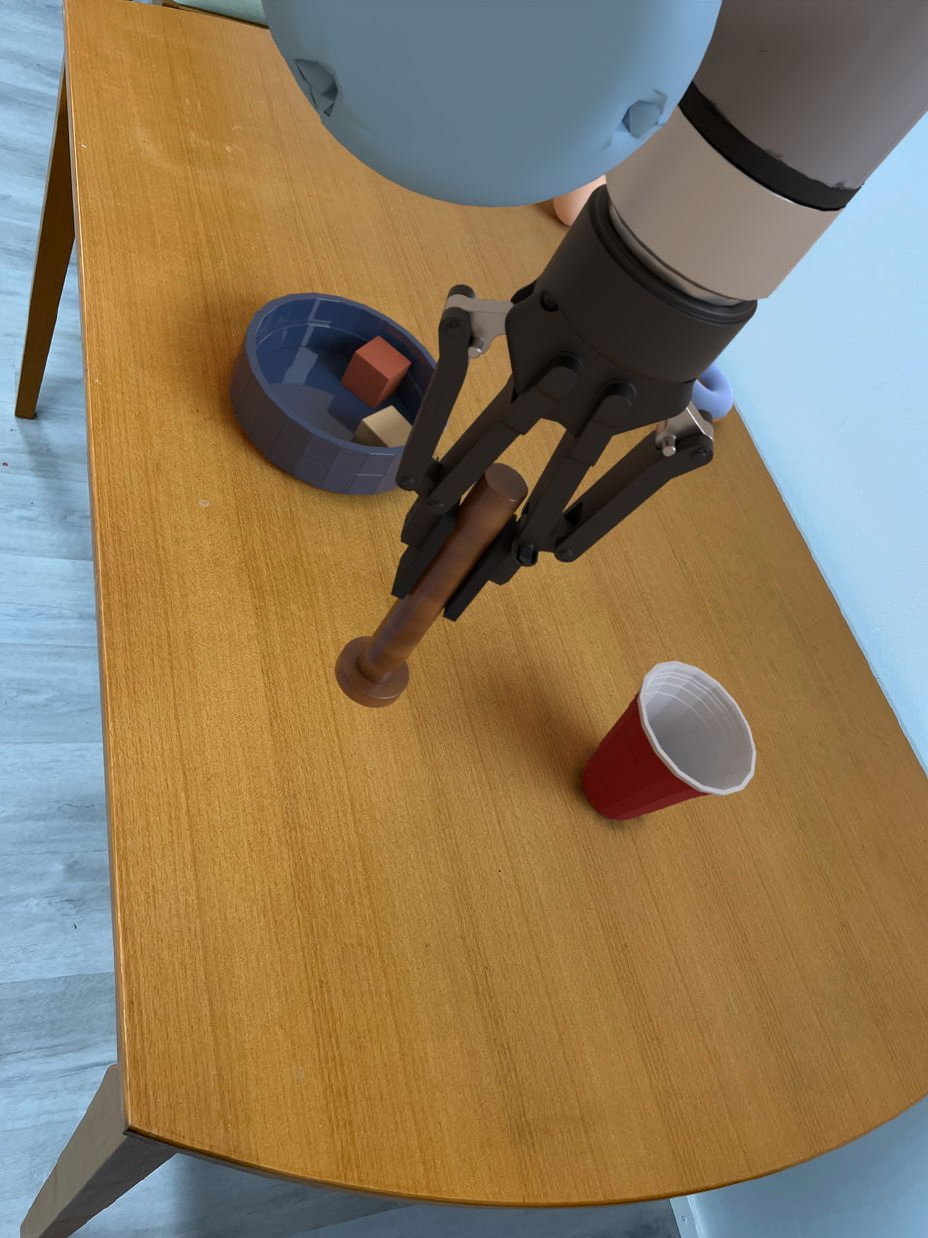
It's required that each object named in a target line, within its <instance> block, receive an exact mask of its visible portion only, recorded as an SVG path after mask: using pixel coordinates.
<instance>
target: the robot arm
mask: <svg viewBox="0 0 928 1238" xmlns="http://www.w3.org/2000/svg"><path fill="white" fill-rule="evenodd" d="M260 2H261V6H262V7H261V8H262V10H263V13H264V17H265V20H266V24H267V27H268V29H269V32H270V35H271V38H272V41H273V42H274V44H275V46H276V48H277V50H278V52H279V54H280V56H281V57H282V58H283V59H284V61H285V63H286V65H287V66H288V68H289V71H290V72H291V75H292V76H293V79H294V80H295V82H296V84H297V86H298V87H299V89H300V91H301V92H302V94H303V95H304V96H305V98H306V99H307V101H308V103H309V104H310V105H311V107H312V108H313V110H314V111H315V112H316V113H317V115H319V119H320V123H321V125H322V126H323V127H324V128H325V129H326V130H327V131H328V132H329V133H330V134H331V136H332V137H333V138H334V139H335V140H336V141H337V142H338V144H339V145H340V146H342V147H343V148H344V149H345V150H347V151H348V152H349V153H350V154H351V155H353V156H354V157H355V158H356V159H357V160H358V161H359V162H360V163H362V164H364V165H365V166H366V167H368V168H370V169H371V170H372V171H374V172H376V174H379V175H380V176H381V177H383V178H384V179H386V180H387V181H390V182H392V183H394V184H396V185H398V186H400V187H401V188H404V189H406V190H408V191H410V192H411V193H412V192H413V193H415V194H419V195H421V196H425V197H427V198H430V199H432V200H436V201H441V202H446V203H451V204H455V205H460V206H467V207H481V208H516V207H517V208H518V207H521V206H522V207H523V206H529V205H533V204H537V203H543V202H546V201H550V200H553V198H556V197H559V196H562V195H565V194H568V193H570V192H572V191H574V190H576V189H578V188H581V187H583V186H585V185H587V184H589V183H591V182H593V181H595V180H597V179H598V178H600V177H601V176H603V175H604V174H605V176H606V184H603V185H601V186H599V187H597V188H596V189H595V190H594V191H593V192H592V193H591V195H590V196H589V198H588V200H587V201H586V203H585V205H584V206H583V208H582V209H581V211H580V213H579V214H578V216H577V217H576V219H575V221H574V222H573V224H572V226H569V229H568V231H567V232H566V233H565V235H564V236H563V238H562V240H561V242H560V243H559V244H558V247H557V248H556V249H555V252H553V254H552V256H551V258H550V259H549V261H548V263H547V264H546V266H545V268H544V269H543V271H542V272H541V273H540V274H539V276H537V278H536V279H534V280H533V281H532V282H530V283H529V284H526V285H524V286H522V287H520V288H519V289H518V290H517V291H515V293H514V294H513V295H512V297H511V298H510V300H500V299H488V298H487V299H486V298H477V294H476V292H475V290H474V289H473V288H472V287H471V286H469V285H467V284H463V283H461V284H455V285H453V286H451V288H450V289H449V291H448V293H447V297H446V299H445V302H444V306H443V310H442V312H441V317H440V319H439V323H438V327H437V336H438V339H437V340H438V355H439V356H438V359H437V361H436V363H437V364H436V367H435V369H434V372H433V375H432V377H431V380H430V382H429V385H428V387H427V390H426V393H425V395H424V398H423V400H422V403H421V405H420V408H419V411H418V413H417V416H416V418H415V421H414V423H413V426H412V429H411V431H410V434H409V436H408V439H407V442H406V444H405V447H404V451H403V454H402V457H401V461H400V464H399V468H398V471H397V474H396V478H395V482H396V484H397V486H398V488H399V489H401V490H402V491H406V492H414V493H416V495H417V497H416V499H415V500H414V502H413V504H412V505H411V507H410V508H409V510H407V511H408V512H407V513H406V514H405V518H404V521H403V525H402V528H401V532H400V543H402V544H405V545H407V547H406V548H405V550H404V551H403V553H402V555H401V556H400V557H399V562H398V565H397V569H396V573H395V576H394V579H393V583H392V587H391V590H390V596H393V597H394V598H395V597H396V599H397V598H400V599H402V600H404V598H405V597H406V595H407V594H408V593H409V591H410V590H411V588H412V587H413V586H414V584H415V583H416V581H417V580H418V578H419V577H420V576H421V574H422V573H423V571H424V570H425V569H426V567H427V566H428V564H429V563H430V562H431V560H432V559H433V557H434V556H435V555H436V553H437V552H438V550H439V549H440V547H441V546H442V545H443V543H444V542H445V540H446V539H447V538H448V536H449V535H450V533H451V532H452V531H453V529H454V528H455V524H456V519H457V515H458V508H459V506H460V504H461V503H462V499H463V496H464V495H465V494H466V493H467V491H469V490H470V489H471V488H472V486H473V485H474V483H475V482H476V481H477V480H478V479H479V478H480V477H481V476H482V474H483V473H484V472H485V471H486V470H487V469H488V468H489V467H490V466H491V465H492V464H493V463H496V461H497V459H499V457H501V455H503V454H504V452H505V451H506V450H507V449H509V447H510V446H511V445H512V444H513V443H514V442H515V441H516V440H517V438H519V437H520V436H526V435H527V434H528V433H529V432H530V431H531V430H532V429H533V428H534V427H535V426H536V424H537V423H538V422H539V421H540V420H541V419H543V420H546V421H550V422H553V423H557V424H559V425H561V426H562V427H563V428H564V429H565V431H564V433H563V434H562V436H561V438H560V441H559V442H558V444H557V445H556V447H555V449H554V450H553V452H552V455H551V456H550V458H549V460H548V462H547V463H546V465H545V467H544V469H543V471H542V473H541V474H540V476H539V478H538V480H537V481H536V483H535V485H534V487H533V488H532V490H531V492H530V494H529V496H528V497H527V499H526V502H525V503H524V505H523V507H522V508H521V512H520V516H519V518H518V514H516V513H514V514H513V516H512V517H511V518H510V520H509V521H508V523H507V524H506V525H505V527H504V528H503V529H502V531H501V532H500V533H499V535H498V536H497V537H496V539H495V540H494V541H493V543H492V544H491V545H490V547H489V548H488V550H487V551H486V552H485V554H484V555H483V556H482V558H481V559H480V560H479V562H478V563H477V564H476V566H475V567H474V568H473V570H472V571H471V572H470V574H469V575H468V577H467V578H466V579H465V581H464V582H463V583H462V585H461V586H460V587H459V589H458V590H457V591H456V593H455V594H454V595H453V597H452V598H451V599H450V601H449V602H448V604H447V605H446V606H445V608H444V609H443V612H442V618H444V619H446V620H449V621H451V622H453V623H456V622H457V621H458V619H459V618H460V617H461V616H462V615H463V613H464V612H465V611H466V610H467V608H468V607H469V606H470V604H471V603H472V602H473V601H474V600H475V598H476V597H477V596H478V594H479V593H480V592H481V591H482V590H483V589H484V587H485V586H486V584H487V583H488V582H491V583H494V584H496V585H498V586H503V585H506V584H507V583H509V582H510V581H511V580H512V578H513V577H514V576H515V575H517V573H518V571H519V570H520V569H521V568H522V567H524V568H530V567H531V568H532V567H534V566H535V565H537V563H538V562H539V561H538V559H539V553H540V552H541V553H542V552H543V553H550V554H553V556H554V558H555V560H557V561H558V562H560V563H567V564H569V563H574V562H575V561H577V560H578V559H579V558H580V557H582V556H583V554H585V553H586V552H587V551H588V550H590V549H591V548H592V547H593V546H594V545H596V544H597V543H598V542H599V541H600V540H601V539H602V538H604V537H605V536H606V535H607V534H609V532H611V531H612V530H613V529H614V528H615V527H617V526H618V525H619V524H620V523H621V522H622V521H624V520H625V519H626V518H627V517H628V516H630V515H632V513H633V512H634V511H636V510H637V509H638V508H639V507H641V506H642V505H643V504H644V503H645V502H646V501H647V500H649V499H650V498H651V497H653V495H654V494H656V493H657V492H658V491H659V490H660V489H662V488H663V487H664V486H665V485H666V484H667V483H669V482H670V480H673V479H676V478H678V477H679V476H683V475H686V474H688V473H690V472H693V471H695V470H697V469H699V468H702V467H705V466H707V465H708V464H710V463H711V462H712V461H713V460H714V454H715V453H714V451H715V450H714V422H713V417H712V414H710V413H709V412H708V411H706V410H700V409H698V410H697V409H696V407H695V406H694V404H693V403H692V401H691V398H692V392H693V387H694V383H695V381H696V379H697V378H698V377H699V376H700V375H702V374H703V373H704V372H705V371H706V370H707V369H708V368H709V367H710V366H711V365H712V363H713V362H714V363H715V361H716V360H717V359H718V357H720V355H721V354H722V353H723V352H724V351H725V350H726V348H727V347H728V346H729V345H730V344H731V342H732V341H733V340H734V339H735V338H736V337H737V335H738V334H739V333H740V332H741V331H742V330H743V329H744V328H745V326H746V325H747V324H748V323H749V322H750V320H751V319H752V318H753V317H754V315H756V312H757V309H758V306H759V305H758V303H759V302H758V300H762V299H767V298H769V297H770V296H771V295H773V293H774V292H776V291H777V289H778V288H779V287H780V286H781V285H782V284H783V283H784V281H785V280H786V279H787V278H788V277H789V275H791V273H792V272H793V271H794V270H795V268H796V267H797V266H798V264H799V263H800V262H801V261H802V260H803V258H804V257H805V256H806V255H807V254H808V253H809V252H810V250H811V249H812V248H813V247H814V245H815V244H816V243H817V242H818V241H819V239H820V238H821V237H822V236H823V235H824V234H825V233H826V231H827V230H828V229H829V228H830V227H831V226H832V224H833V223H834V222H835V221H836V219H837V218H838V217H839V216H840V215H841V214H842V212H843V211H844V210H845V209H846V208H847V206H848V204H849V203H850V202H851V200H852V199H853V198H854V197H855V196H856V195H857V194H858V192H859V191H860V190H861V189H862V187H863V186H865V183H866V181H867V180H868V179H869V178H870V177H871V176H872V175H873V173H875V171H876V170H877V169H878V168H879V166H881V164H882V163H884V161H885V160H886V159H887V158H888V156H889V155H890V154H891V153H892V152H893V151H894V150H895V148H896V147H897V146H898V145H899V144H900V143H901V142H902V141H903V140H904V138H905V137H906V136H907V135H908V134H909V133H910V131H912V129H913V128H914V127H915V126H916V125H917V124H918V123H919V121H920V120H921V119H922V118H923V117H924V116H925V115H926V114H927V112H928V0H260ZM499 336H505V339H506V344H507V350H508V351H507V352H508V357H509V363H510V368H511V374H510V375H509V377H508V379H507V381H506V383H505V384H504V386H503V387H502V389H500V391H499V392H498V393H497V394H496V396H494V398H493V399H492V400H491V401H490V402H489V403H488V404H487V406H486V407H485V408H484V409H483V410H482V412H481V413H480V414H479V415H478V416H477V417H476V418H475V419H474V421H473V422H472V423H471V424H470V425H469V426H468V427H467V429H466V430H465V431H464V432H463V434H461V436H460V437H458V439H457V440H456V441H455V442H454V443H453V445H452V446H451V447H450V448H449V449H448V451H447V452H446V453H445V454H444V455H443V457H441V458H440V456H436V458H435V457H433V456H434V454H435V451H436V449H437V447H438V444H439V442H440V440H441V437H442V435H443V433H444V432H443V430H444V428H445V426H446V423H447V421H448V422H449V420H448V419H450V416H451V413H452V411H453V410H454V407H455V405H456V402H457V399H458V398H459V395H460V393H461V391H462V388H463V385H464V383H465V380H466V377H467V374H468V370H469V366H470V361H471V359H473V360H476V359H478V358H479V357H480V356H481V355H484V354H485V353H487V352H488V351H489V349H490V348H491V344H492V342H493V341H494V340H495V339H496V338H497V337H499ZM654 424H656V426H655V429H654V430H652V431H650V432H649V433H648V434H647V435H646V436H644V437H643V438H642V439H641V440H640V441H639V442H638V443H637V444H635V446H633V447H632V448H631V449H630V450H629V451H628V452H627V453H626V454H625V455H623V456H622V457H621V458H620V459H619V460H618V461H617V462H616V463H615V464H613V466H612V467H610V468H609V470H607V471H606V472H605V473H604V474H602V476H601V477H600V478H599V479H597V480H596V481H595V482H594V483H593V484H592V485H591V486H590V487H589V488H588V489H587V490H586V491H584V492H583V493H582V494H581V495H580V496H579V497H577V499H575V501H574V502H572V503H571V504H570V505H569V503H570V500H571V499H572V498H573V497H574V495H575V493H576V491H577V490H578V488H579V486H580V485H581V482H582V481H583V480H584V478H585V476H586V474H587V473H588V471H589V470H590V468H591V467H592V468H593V467H595V466H596V465H597V463H598V461H599V459H600V458H601V456H602V455H603V453H604V452H605V450H606V448H607V447H608V445H609V443H610V442H611V440H612V438H613V437H614V436H618V435H620V434H624V433H627V432H630V431H634V430H638V429H641V428H643V427H647V426H650V425H654ZM444 431H445V430H444ZM568 505H569V506H568Z"/></svg>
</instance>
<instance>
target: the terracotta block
mask: <svg viewBox="0 0 928 1238" xmlns="http://www.w3.org/2000/svg"><path fill="white" fill-rule="evenodd" d="M410 365H411V362H410V361H409V360H408V359H407V358H405V357H404V356H403V355H402V354H401V353H399V352H398V351H397V350H396V349H395V348H393V347H392V346H391V345H390V344H389V343H387V342H386V341H385V340H384V339H383V338H381V337H380V336H379V335H378V336H377V337H376V338H374V339H373V340H371V341H370V342H368V343H367V344H365V345H364V346H362V347H361V348H359V349H358V350H357V351H355V353H354V355H353V357H352V359H351V361H350V363H349V365H348V368H347V370H346V372H345V374H344V376H343V378H342V380H341V383H342V384H343V385H344V386H345V387H347V388H348V389H349V390H350V391H352V392H353V393H354V394H355V395H356V396H358V397H359V398H360V399H361V400H362V401H364V402H365V403H366V404H367V405H368V406H370V407H371V408H372V409H375V408H376V407H377V406H378V405H380V404H381V403H382V402H384V401H385V400H386V399H388V398H389V397H390V396H391V395H393V394H394V393H395V392H396V391H397V389H398V387H399V385H400V383H401V381H402V379H403V378H404V376H405V374H406V372H407V370H408V368H409V367H410Z"/></svg>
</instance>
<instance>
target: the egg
mask: <svg viewBox="0 0 928 1238" xmlns="http://www.w3.org/2000/svg"><path fill="white" fill-rule="evenodd" d="M603 184H606V174H604V175H603V176H601V177H600V178H598V179H597V180H595V181H593V182H591V183H589V184H587V185H585V186H583V187H581V188H578V189H576V190H574V191H572V192H570V193H568V194H565V195H562V196H559V197H556V198H553V199H552V201H553V208H554V211H555V214H556V216H557V218H558V219H559V220H560V221H561V222H562V223H563V224H564V225H566V226H569V227H571V226H572V224H573V222H574V221H575V219H576V217H577V216H578V214H579V213H580V211H581V209H582V208H583V206H584V205H585V203H586V201H587V200H588V198H589V196H590V195H591V193H592V192H593V191H594V190H595V189H596V188H597V187H599V186H601V185H603Z"/></svg>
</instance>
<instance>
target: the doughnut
mask: <svg viewBox="0 0 928 1238" xmlns="http://www.w3.org/2000/svg"><path fill="white" fill-rule="evenodd" d="M691 401H692V403H693V404H694V406H695V407H696V409H697V410H698V409H700V410H706V411H708V412H709V413H710V414H712V417H713V423H717V422H719V421H721V420H722V419H723V418H724V417H726V416H727V414H728V413H729V412H730V410H731V409H732V407H733V404H734V403H733V402H734V392H733V389H732V386H731V384H730V382H729V379H728V378H727V376H726V374H725V373H724V372H723V370H722V369H721V368H720V367H719V366H718V365H717V364H716V362H715V361H714V362H713V363H712V365H711V366H710V367H709V368H708V369H707V370H706V371H705V372H704V373H703V374H702V375H700V376H699V377H698V378H697V379H696V381H695V383H694V387H693V392H692V398H691Z"/></svg>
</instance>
